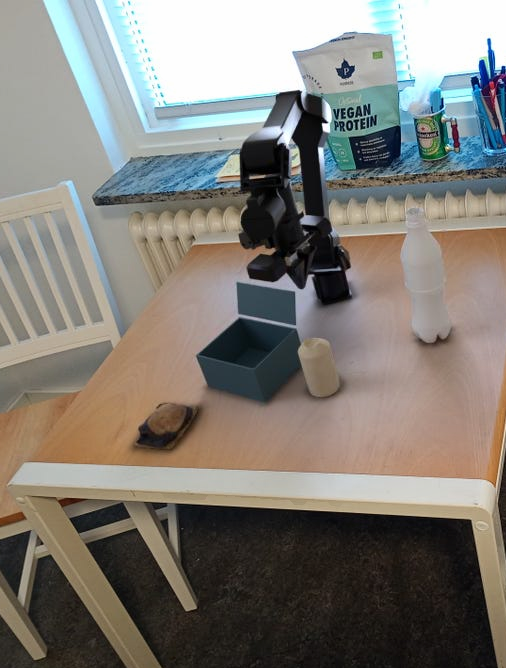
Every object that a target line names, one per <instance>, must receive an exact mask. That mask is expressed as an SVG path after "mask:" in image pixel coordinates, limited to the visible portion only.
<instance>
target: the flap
mask: <svg viewBox="0 0 506 668" xmlns="http://www.w3.org/2000/svg"><path fill="white" fill-rule="evenodd" d="M235 283H236V285H235V286H236V300H237V301H236V302H237V314H238V315H241V316H246V317H252V318H256V319H261V320H266V321H271V322H276V323H280V324H285V325H291V326H297V308H296V307H297V306H296V303H297V302H296V291H294V290H289V289H283V288H277V287H271V286H265V285H260V284H253V283H247V282H242V281H236V282H235Z"/></svg>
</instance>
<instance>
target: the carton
mask: <svg viewBox="0 0 506 668" xmlns="http://www.w3.org/2000/svg"><path fill="white" fill-rule="evenodd" d="M301 345H302V342H301V339H300V336H299V332H298V329H297V328H295V327H291V326H286V325H281V324H276V323H272V322H267V321H261V320H257V319H252V318H247V317H242V316H238V317H237V319H235V320H234V321H233V322H232V323H231V324H230V325H228V326H227V327H226V328H225V329H224V330H223V331H222V332H221V333H219V334H218V335H217V336H216V337H215V338H213V340H211V341H210V342H208V344H207V345H205V347H204V348H202V349H201V350H200V351H199V352H198V353H197V354H196V355H195V357H196V358H195V359H196V361H197V363H198V365H199V367H200V369H201V372H202V375H203V378H204V380H205V383H206V385H207V387H208V388H210V389H214V390H216V391H217V390H218V391H221V392H225V393H229V394H232V395H236V396H239V397H243V398H246V399H250V400H254V401H258V402H261V403H264V404H265V403H267V402H268V401H269V400H270V399H271V397H272V396H274V395H275V393H276V392H277V391H278V390H279V389H280V388H281V387H282V386H283V385H284V384H286V382H287V381H288V380H289V379H290V378H291V377H292V376H293V375H294V374H295V373H296V372H297V370H299V368H301V367H302V365H301V361H300V358H299V355H298V349H299V347H300V346H301Z"/></svg>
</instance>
